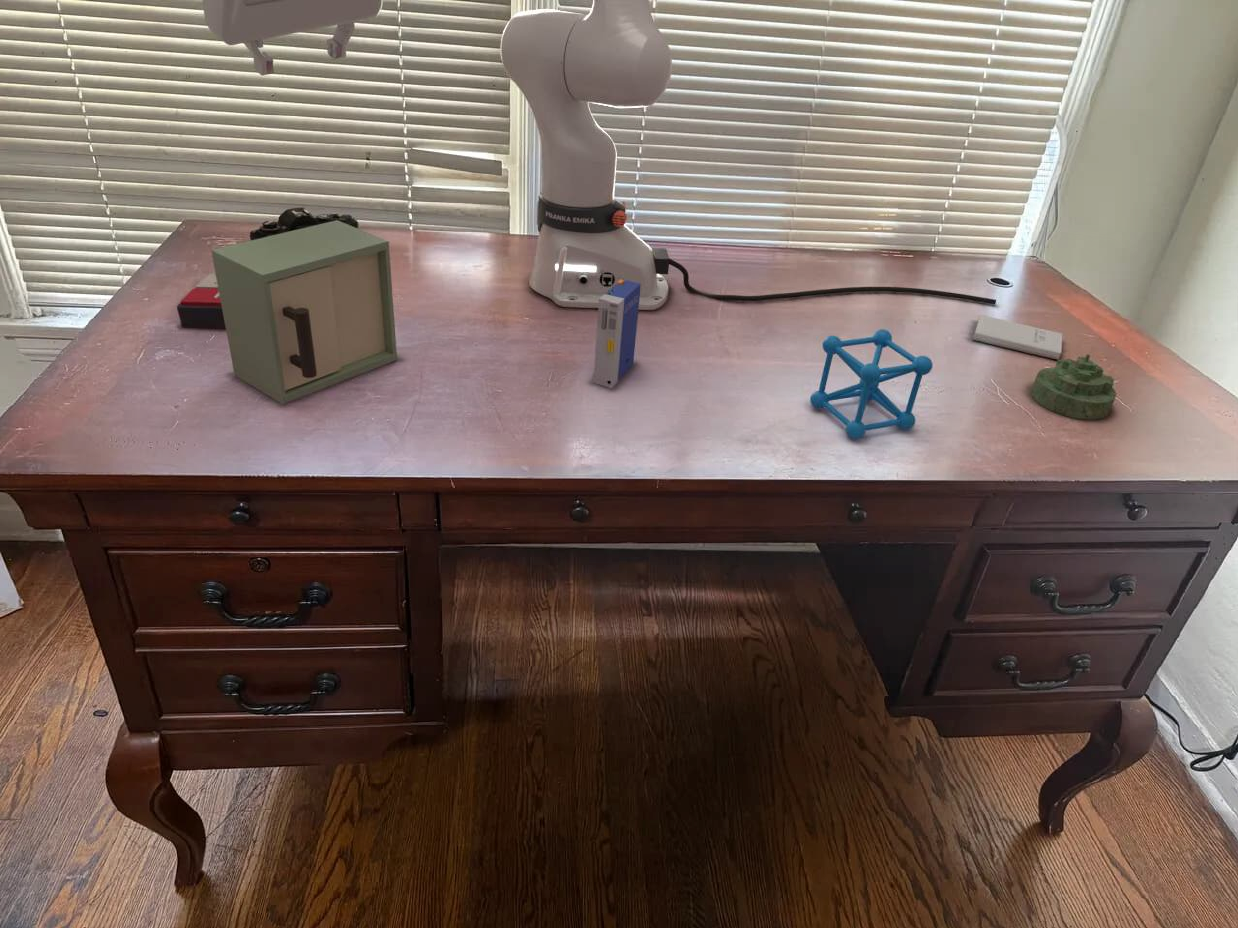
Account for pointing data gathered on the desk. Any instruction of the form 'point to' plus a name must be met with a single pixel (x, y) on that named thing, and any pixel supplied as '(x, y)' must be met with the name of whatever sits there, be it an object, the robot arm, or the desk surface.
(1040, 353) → the hard drive
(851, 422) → the molecular structure
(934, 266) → the desk surface
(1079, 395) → the decorative artifact
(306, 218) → the film camera
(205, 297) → the red and black box
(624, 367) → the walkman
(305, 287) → the door
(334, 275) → the cabinet
